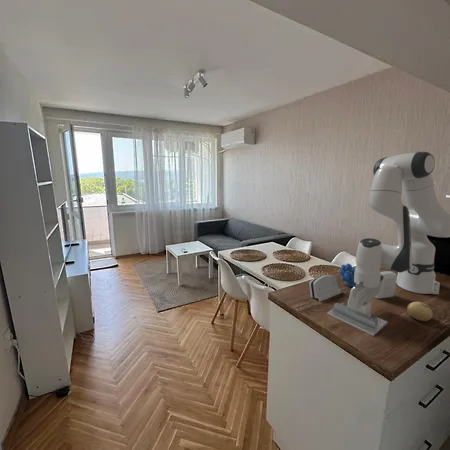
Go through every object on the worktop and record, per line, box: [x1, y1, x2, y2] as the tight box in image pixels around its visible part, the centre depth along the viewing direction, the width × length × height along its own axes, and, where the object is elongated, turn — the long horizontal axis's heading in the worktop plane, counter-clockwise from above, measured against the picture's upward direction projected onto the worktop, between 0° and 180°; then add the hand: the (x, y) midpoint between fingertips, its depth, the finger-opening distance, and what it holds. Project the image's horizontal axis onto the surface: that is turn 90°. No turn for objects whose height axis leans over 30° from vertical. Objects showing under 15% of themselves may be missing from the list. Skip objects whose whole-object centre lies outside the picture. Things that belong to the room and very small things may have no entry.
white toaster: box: [308, 274, 342, 303], centre depth 118 cm, size 17×5×10 cm, turn 121°
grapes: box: [338, 263, 357, 288], centre depth 124 cm, size 12×7×12 cm, turn 34°
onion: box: [406, 301, 434, 322], centre depth 97 cm, size 8×8×7 cm
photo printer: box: [373, 270, 398, 299], centre depth 114 cm, size 10×4×12 cm, turn 103°
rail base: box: [327, 302, 389, 337], centre depth 98 cm, size 12×18×4 cm, turn 37°
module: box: [347, 299, 373, 316], centre depth 98 cm, size 5×7×6 cm
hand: (363, 309), depth 101 cm, fingers closed
